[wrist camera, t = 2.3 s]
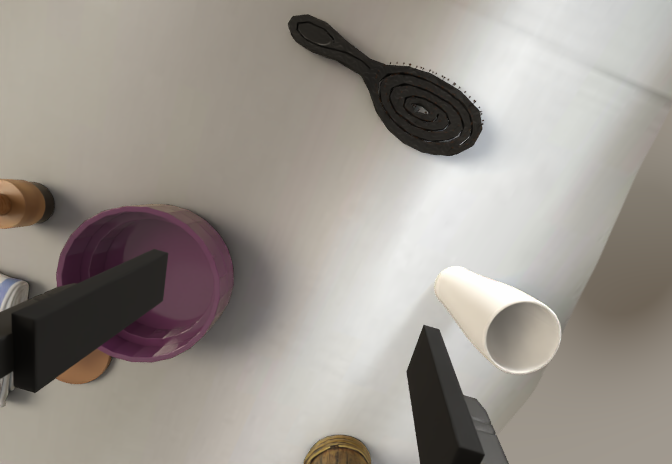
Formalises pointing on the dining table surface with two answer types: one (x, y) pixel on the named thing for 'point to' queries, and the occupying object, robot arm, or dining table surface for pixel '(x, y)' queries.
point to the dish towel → (4, 295)
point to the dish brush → (24, 203)
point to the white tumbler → (500, 320)
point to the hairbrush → (400, 93)
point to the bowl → (181, 275)
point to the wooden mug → (338, 451)
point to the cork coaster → (86, 368)
